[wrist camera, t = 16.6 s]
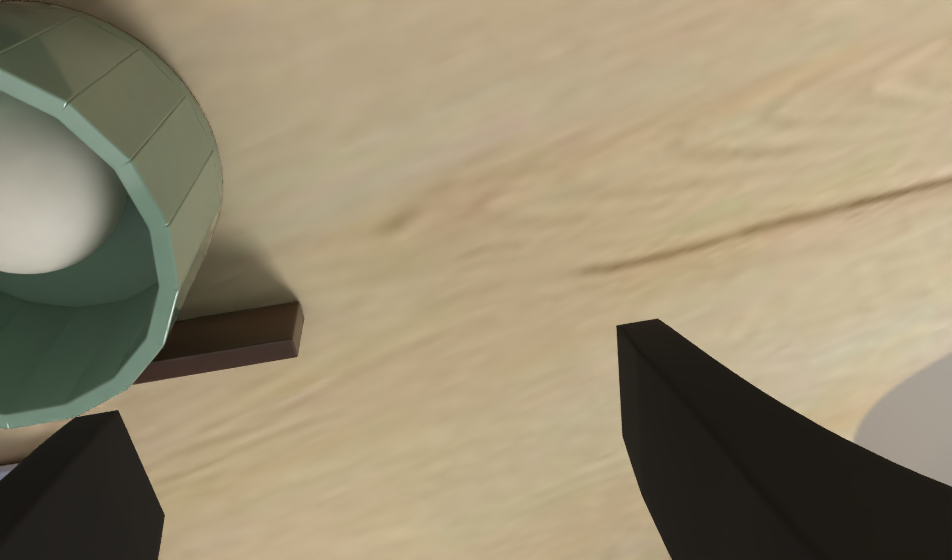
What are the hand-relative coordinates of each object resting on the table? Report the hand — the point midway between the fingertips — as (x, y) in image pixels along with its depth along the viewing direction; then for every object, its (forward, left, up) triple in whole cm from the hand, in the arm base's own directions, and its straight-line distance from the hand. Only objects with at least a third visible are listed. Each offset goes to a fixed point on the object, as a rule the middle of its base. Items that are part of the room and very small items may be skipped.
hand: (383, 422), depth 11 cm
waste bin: (+2, +8, -10) cm, 13 cm away
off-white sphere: (+2, +7, -8) cm, 11 cm away
